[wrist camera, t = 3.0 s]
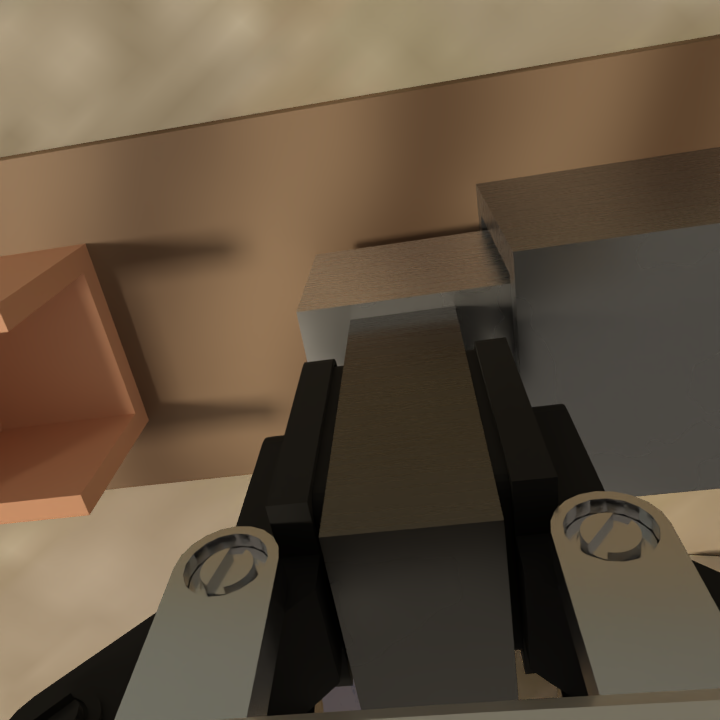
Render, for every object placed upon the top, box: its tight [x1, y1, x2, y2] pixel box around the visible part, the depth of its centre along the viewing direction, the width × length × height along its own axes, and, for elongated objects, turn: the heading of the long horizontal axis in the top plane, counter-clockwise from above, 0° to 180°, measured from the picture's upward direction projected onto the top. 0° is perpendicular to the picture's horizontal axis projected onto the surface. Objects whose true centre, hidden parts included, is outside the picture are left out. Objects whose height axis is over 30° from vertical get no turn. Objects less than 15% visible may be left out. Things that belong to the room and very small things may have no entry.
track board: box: [0, 35, 720, 490], centre depth 17 cm, size 27×10×1 cm, turn 99°
